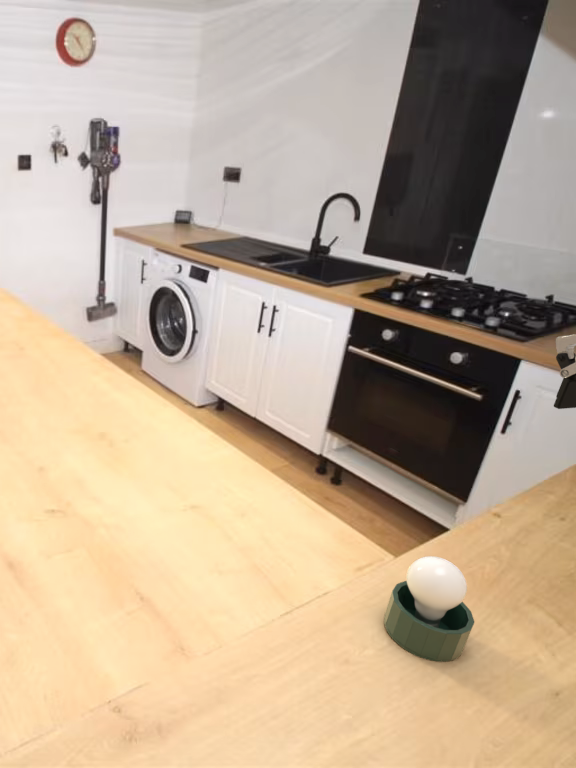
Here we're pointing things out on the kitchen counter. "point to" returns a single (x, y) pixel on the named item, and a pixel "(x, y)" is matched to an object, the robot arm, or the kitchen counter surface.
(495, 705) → the kitchen counter surface
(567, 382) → the robot arm
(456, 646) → the bowl
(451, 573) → the lightbulb
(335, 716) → the kitchen counter surface
